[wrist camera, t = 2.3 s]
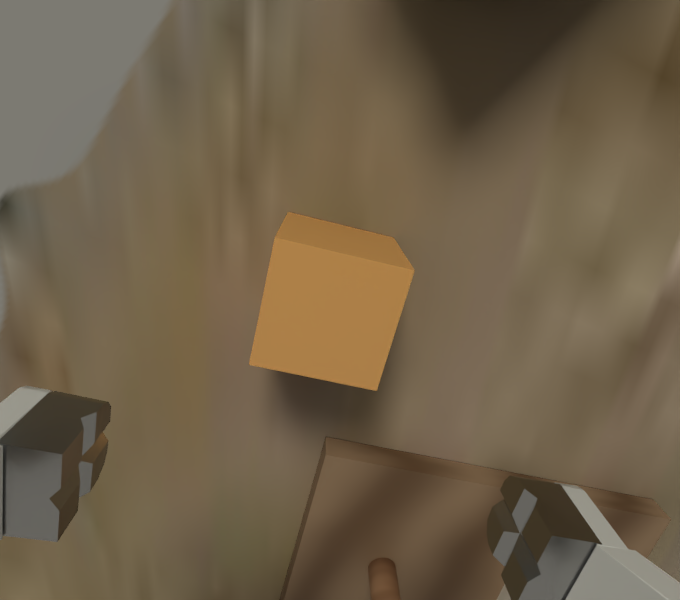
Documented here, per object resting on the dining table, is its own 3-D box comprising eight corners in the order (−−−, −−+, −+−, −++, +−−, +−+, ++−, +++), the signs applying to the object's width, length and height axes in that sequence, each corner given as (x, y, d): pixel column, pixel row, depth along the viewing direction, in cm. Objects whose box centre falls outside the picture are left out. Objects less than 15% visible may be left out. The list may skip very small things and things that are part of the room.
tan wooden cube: (393, 237, 21) (414, 270, 16) (365, 333, 23) (376, 390, 18) (288, 211, 21) (274, 237, 15) (267, 311, 22) (248, 364, 17)
